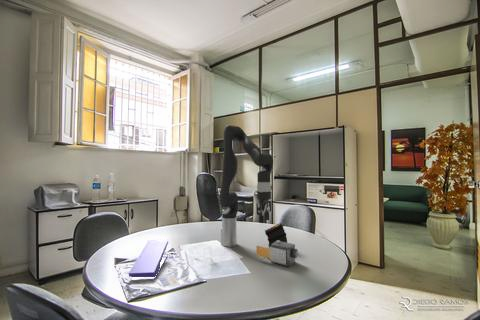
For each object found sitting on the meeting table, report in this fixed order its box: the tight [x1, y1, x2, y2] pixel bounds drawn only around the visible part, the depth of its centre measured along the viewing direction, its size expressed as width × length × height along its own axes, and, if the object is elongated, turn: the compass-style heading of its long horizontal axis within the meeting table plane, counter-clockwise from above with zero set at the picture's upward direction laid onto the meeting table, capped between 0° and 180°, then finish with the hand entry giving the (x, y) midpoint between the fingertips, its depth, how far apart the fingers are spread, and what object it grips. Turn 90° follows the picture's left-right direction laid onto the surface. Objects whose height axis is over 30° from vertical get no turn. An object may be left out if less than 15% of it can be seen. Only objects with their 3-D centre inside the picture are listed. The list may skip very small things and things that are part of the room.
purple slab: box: [128, 239, 169, 277], centre depth 115 cm, size 12×28×10 cm, turn 6°
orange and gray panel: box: [255, 245, 291, 268], centre depth 118 cm, size 19×1×8 cm, turn 53°
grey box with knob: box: [270, 241, 299, 267], centre depth 119 cm, size 12×7×10 cm, turn 53°
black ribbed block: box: [264, 222, 288, 248], centre depth 139 cm, size 4×13×15 cm, turn 91°
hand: (264, 221), depth 125 cm, fingers open, 7 cm apart
